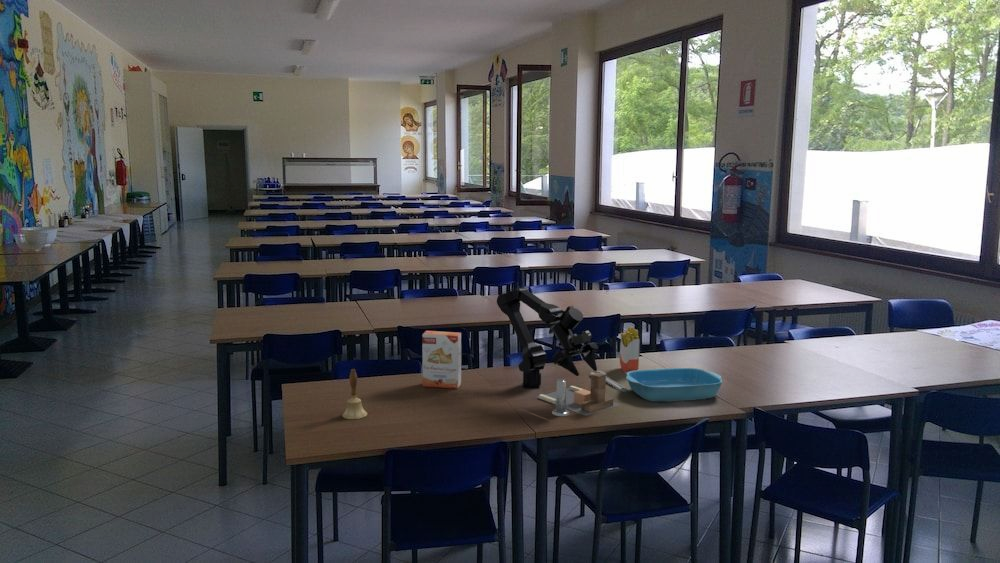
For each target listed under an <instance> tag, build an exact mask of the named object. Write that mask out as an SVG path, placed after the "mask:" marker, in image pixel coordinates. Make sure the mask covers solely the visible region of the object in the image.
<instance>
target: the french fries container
mask: <svg viewBox="0 0 1000 563" xmlns="http://www.w3.org/2000/svg"><path fill="white" fill-rule="evenodd" d="M640 340H641V339H640V336H639V330H638V329H635V328H634V326H627V330H625V332H620V348H619V350H620V351H619V365H620V369H621V370H622V371H623V372H624V373H625V372H626V374H627V373H628V372H630V371H635V370H639V362H640Z"/></svg>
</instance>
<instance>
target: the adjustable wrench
mask: <svg viewBox="0 0 1000 563" xmlns="http://www.w3.org/2000/svg"><path fill="white" fill-rule="evenodd" d="M594 373H602V374H605V375H606V382H607V383H608V384H607V383H606V384H607V385H609V384H610V385H612V386H613V387H612V386H611V387H612V388H614V387H615V388H616V389H615V388H614V389H615V390H617V389H618V390H617V391H620V392H623V393H628V388H627V387H625V386H624V385H622V384H620V383H618V382H616V381H615V380H613V379H611V378H609V377H608V376H607V373H606V372H605V371H602V370H597V371H595V372H593V371H591V372H590V375H591V374H594ZM610 385H609V386H610Z"/></svg>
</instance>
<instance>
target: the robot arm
mask: <svg viewBox="0 0 1000 563" xmlns="http://www.w3.org/2000/svg"><path fill="white" fill-rule="evenodd" d="M521 303H523V304H524V305H525V306H527V307H529V308H530V309H532V310H533V311H534V312H536V313H537V314H538V318H539V319H540V320H541V321H542V322H543V323H544V324H546V325H550V324H553V325H551V326H549V329H548V334H549V335H551V334H554V335H555V337H556V339H557V341H558V342H559V343H558V344H557V345H558V347H559V348H560V347H562V349H558V350H557V351H556V352H555V353H554V355H553V356H551V357H552V359H551V360H552V362H553V364H554V365H555V366H556V365H557V366H559V367H562V368H563V369H565V370H567V371H568V372H570V373H571V374H573V375H574V376H575V377H578V376H580V373H579V371H578V369H577V367H576V365H575V363H574V361H573V357H574V356H578V355H581V357H582V360H583V361H584V363H586V364H587V365H588V366H589V367H590V368H591V370H592V371H594V372H596V371H598V367H597V363H596V352H597V351H598V349H599V345H598V344H597V343H596V342H591V339H592V338H593V336H592V333H591V332H590V331H589V330H585V331H582V332H581V334H577V333H573V331H572V330H574V329H575V328H576V327H577V326H578V325H579V323H581V321H582V320H583V319H584V315H583V313H582V311H581V310H579V309H578V308H575V307H574V305H569V306H568V305H567V307H566V308H565V310H563V309H562V308H561V307H560V306H558V305H555V304H552V303H549V302H545V301H544V300H542V299H541V298H539V297H538V296H537V295H535V294H534V293H532V292H531V291H529V290H528V288H526V287H518V288H515V289H513V290H510V291H507V292H504V293H500V294H499V293H498V296H497V298H496V305H497V306H498V308H499V309H500V311H501V312H502V313H503V314H505V315H506V316H507V317H508V319H509V321H510V323H511V326H512V328H513V331H514V332H515V334H516V337H517V339H518V341H519V343H520V345H521V348H522V354H521V357H522V361H521V362H520V363H519V364H518V370H519V371H520V372H522V373H523V374H522V388H524V389H525V388H530V389H539V388H540V386H541V385H542V373H541V370H544V369H545V367H546V362H547V356H546V355H547V353H546V352H545V349H544V347H543V346H542V344H539V345H538V344H536V343H535V342H534V338H533V337H532V334H531V332H530V330H529V328H528V326H527V324H526V322H525V319H524V317H523V315H522V313H521V311H520V310H521Z"/></svg>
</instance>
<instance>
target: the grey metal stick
mask: <svg viewBox="0 0 1000 563" xmlns="http://www.w3.org/2000/svg"><path fill="white" fill-rule="evenodd" d="M566 389H567V379H563V378H562V379H561V378H559V379H558V378H557V379H556V391H557V392H556V391H555V392H556V405H555V409H552V411H551V414H552V415H553V416H556V417H567V416H570V410H569V409H566Z"/></svg>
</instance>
